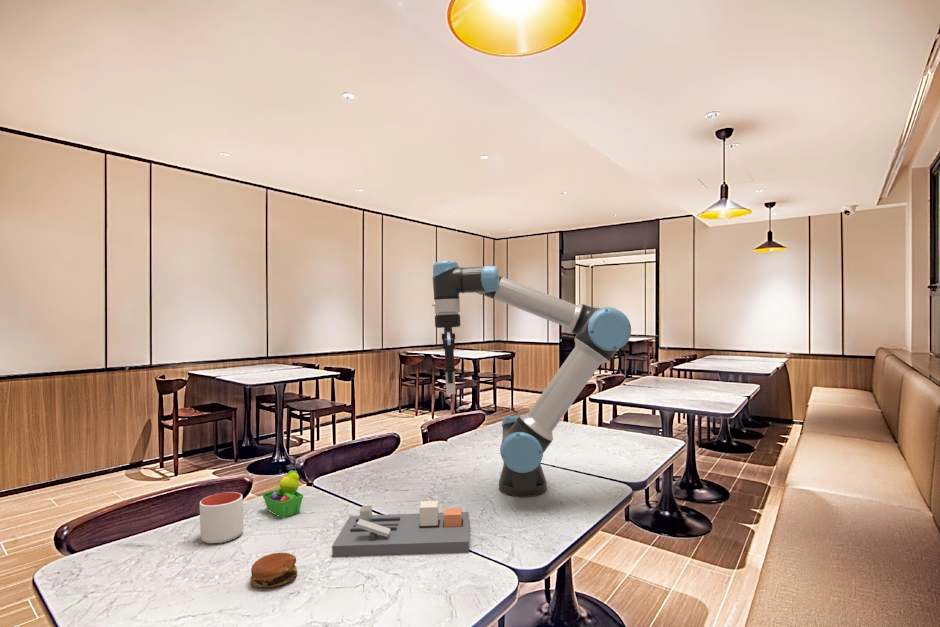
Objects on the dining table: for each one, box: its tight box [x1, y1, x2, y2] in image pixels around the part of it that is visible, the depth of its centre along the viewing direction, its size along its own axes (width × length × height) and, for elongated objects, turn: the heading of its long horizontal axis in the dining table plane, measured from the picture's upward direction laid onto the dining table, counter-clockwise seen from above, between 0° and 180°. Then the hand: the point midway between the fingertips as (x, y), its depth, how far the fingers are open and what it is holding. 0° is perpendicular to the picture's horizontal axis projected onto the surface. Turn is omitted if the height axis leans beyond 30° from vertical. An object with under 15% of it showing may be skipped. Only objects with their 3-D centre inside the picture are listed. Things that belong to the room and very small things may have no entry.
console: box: [331, 511, 470, 558], centre depth 128 cm, size 32×18×4 cm, turn 90°
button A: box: [443, 507, 463, 527], centre depth 130 cm, size 4×4×5 cm
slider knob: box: [359, 505, 373, 523], centre depth 130 cm, size 2×4×4 cm, turn 0°
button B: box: [419, 500, 440, 526], centre depth 130 cm, size 4×4×5 cm
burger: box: [250, 552, 298, 588], centre depth 110 cm, size 10×9×5 cm
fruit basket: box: [262, 469, 304, 519], centre depth 148 cm, size 11×9×11 cm
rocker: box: [356, 519, 390, 537], centre depth 123 cm, size 8×3×1 cm, turn 90°
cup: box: [199, 491, 244, 544], centre depth 132 cm, size 10×10×10 cm
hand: (450, 393), depth 150 cm, fingers closed
